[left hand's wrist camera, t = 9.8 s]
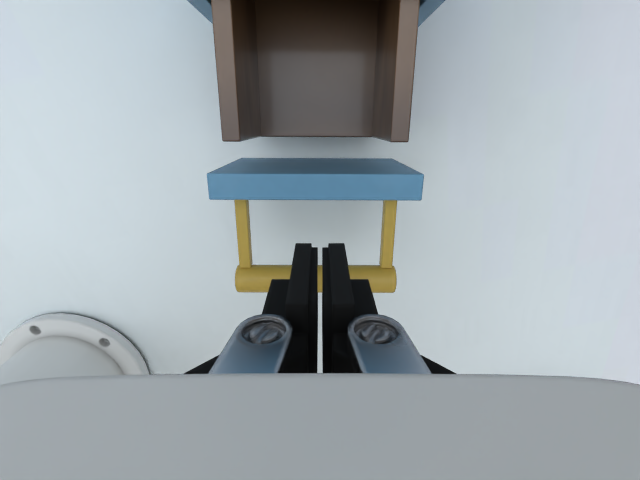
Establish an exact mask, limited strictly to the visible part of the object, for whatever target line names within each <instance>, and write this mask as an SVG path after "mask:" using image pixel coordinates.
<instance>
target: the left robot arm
mask: <svg viewBox="0 0 640 480" xmlns="http://www.w3.org/2000/svg"><path fill="white" fill-rule="evenodd" d="M317 342H318V248H312V246H311V243H296V245H295V251H294V257H293V262H292V268H291V274H290V279H272V280H271V283H270V287H269V290H268V294H267V298H266V301H265V305H264V309H263V312H262V315H256V316H253V317H250V318H248V319H246V320H245V321H243V322H241V323H240V325H239V326H238V327H237V328H236V330H235V331H234V333H233V335H232V336H231V338H230V339H229V341H228V343H227V344H226V346H225V347H224V349H223V351H222V352H221V354H220V355H218V356H216V357H214V358H213V359H211V360H209V361H207V362H205V363H203V364H201V365H199V366H197V367H196V368H194V369H192V370H190V371H188V372H186V373H184V374H157V375H149V371H148V369H147V366H146V363H145V361H144V359H143V358H142V356H141V354H140V353H139V351H138V350H137V349H136V348H135V347H134V346H133V344H132V343H131V342H130V341H129V340H127V339H126V338H125V337H124V336H123V335H121V334H120V333H119V332H117V331H116V330H114V329H112V328H111V327H109V326H107V325H106V324H103V323H101V322H98V321H96V320H94V319H91V318H87V317H83V316H80V315H74V314H65V313H56V314H45V315H41V316H37V317H34V318H32V319H30V320H27V321H25V322H23V323H22V324H21V325H19V326H18V327H17V328H15V329H14V330H12V331H11V332H10V333H9V334H8V335H7V336H6V337H5V338H4V339H3V341H2V343H1V345H0V480H640V385H639V384H634V383H628V382H622V381H615V380H607V379H598V378H585V377H567V376H533V375H491V374H456V373H454V372H452V371H450V370H448V369H446V368H444V367H443V366H441V365H439V364H437V363H435V362H433V361H431V360H429V359H427V358H426V357H424V356H422V355H420V354H419V352H418V351H417V349H416V347H415V346H414V344H413V343H412V341H411V339H410V338H409V336H408V335H407V333H406V331H405V330H404V328H403V327H402V326H401V325H400V323H399V322H397V321H395V320H394V319H392V318H390V317H387V316H384V315H378V312H377V309H376V305H375V301H374V298H373V294H372V290H371V287H370V283H369V280H368V279H350V274H349V268H348V262H347V257H346V251H345V245H344V243H329V245H328V248H322V342H323V373H317Z"/></svg>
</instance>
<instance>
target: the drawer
mask: <svg viewBox="0 0 640 480" xmlns="http://www.w3.org/2000/svg"><path fill="white" fill-rule="evenodd" d="M419 6H420V0H211V7H212V19H213V32H214V44H215V56H216V68H217V80H218V92H219V104H220V117H221V129H222V140H223V141H244V140H248V139H252V138H257V137H375V138H378V139H382V140H386V141H389V142H408V140H409V128H410V116H411V104H412V92H413V79H414V67H415V55H416V43H417V30H418V18H419ZM423 179H424V174H422V173H420V172H418V171H416V170H414V169H412V168H410V167H408V166H406V165H404V164H402V163H400V162H398V161H396V160H394V159H350V158H241V159H239V160H236V161H234V162H232V163H230V164H227V165H225V166H223V167H221V168H219V169H216V170H214V171H212V172H210V173H207V180H208V190H209V199H211V200H235V213H236V226H237V239H238V252H239V265H238V266H237V269H236V273H235V286H236V290H237V292H268V290H269V287H270V283H271V280H272V279H290V274H291V268H292V265H252V249H251V233H250V217H249V201H248V200H383V216H382V232H381V248H380V265H348V268H349V274H350V279H368V280H369V283H370V287H371V290H372V293H393V292H395V289H396V271H395V268H394V266H392V261H393V247H394V234H395V221H396V208H397V200H421V199H422V189H423ZM318 292H322V265H318Z"/></svg>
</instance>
